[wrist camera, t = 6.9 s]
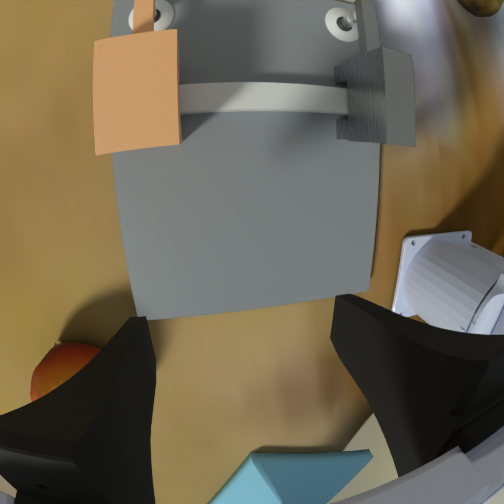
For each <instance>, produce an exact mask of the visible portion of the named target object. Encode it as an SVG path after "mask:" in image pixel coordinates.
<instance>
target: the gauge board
mask: <svg viewBox="0 0 504 504" xmlns="http://www.w3.org/2000/svg"><path fill="white" fill-rule="evenodd" d="M134 1H135V0H114V3H113V14H112V26H111V38H113V37H118V36H124V35H130V34H132V31H133V14H134ZM155 8H156V12H157V15H156V17H155V18H154V31H160V30H170V29H177V34H178V47H179V60H180V81H179V88H180V120H181V130H182V144H179V145H169V146H159V147H151V148H142V149H135V150H127V151H120V152H113V153H112V158H113V170H114V180H115V190H116V198H117V206H118V214H119V221H120V228H121V235H122V241H123V247H124V253H125V258H126V264H127V269H128V274H129V279H130V284H131V289H132V294H133V298H134V303H135V307H136V312H137V316H138V317H142V316H146V318H147V320H157V319H169V318H179V317H189V316H199V315H208V314H217V313H225V312H234V311H242V310H250V309H257V308H265V307H272V306H279V305H286V304H293V303H299V302H306V301H312V300H319V299H325V298H331V297H336V295H343V294H354V293H360V292H365V291H368V290H369V283H370V275H371V268H372V259H373V250H374V241H375V230H376V218H377V204H378V186H379V157H380V143H369V142H353V141H348V140H343V139H337V130H336V121H347V120H348V98H347V85H342V84H335V71H334V67H335V66H338V65H340V64H342V63H345V62H346V60H348V59H351V58H353V57H356V56H358V55H360V48H359V38H358V28H357V24H355V25H353V26H351V27H350V28H346V27H344V26H343V25H342V24H341V19H342V18H344V17H346V16H347V15H349V14H350V13H352V12H353V11H355V5H353V4H349V3H345V2H340V1H336V0H155Z"/></svg>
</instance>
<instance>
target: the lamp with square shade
mask: <svg viewBox="0 0 504 504" xmlns="http://www.w3.org/2000/svg"><path fill="white" fill-rule="evenodd" d="M372 458H373V456H372V454H371V452H370V450H369V449H367V450H357V451H345V452H329V453H256V452H250V454H249V455H248V456H247V457H246V459H245V460H244V461H243V462H242V464H241V465H240V466H239V467H238V469H237V470H236V471H235V472H234V473H233V475H232V476H231V477H230V478H229V479H228V481H227V482H226V483H225V484H224V485H223V486H222V488H221V489H220V490H219V491H218V492H217V493H216V495H215V496H214V497H213V498H212V499H211V500H210V501H209V502H208V503H207V504H326V503H327V502H329V501H330V500H331V499H332V498H333V497H334V496H335V495H336V494H337V493H338V492H339V491H341V490H342V489H343V488H344V487H345V485H347V484H348V483H349V482H350V481H351V480H352V479H353V478H354V477H355V476H356V475H357V474H358V473H359V472H360V471H361V469H363V468H364V466H365V465H366V464H367V463H368V462H369V461H370V460H371V459H372Z"/></svg>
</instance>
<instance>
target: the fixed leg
mask: <svg viewBox="0 0 504 504" xmlns="http://www.w3.org/2000/svg"><path fill="white" fill-rule="evenodd" d="M354 4H355V11H353V12H352V13H350V14H349V15H347V16H346V17H344V18H342V19H341V24H342V25H343V26H344V27H346V28H350V27H351V26H353V25H355V24H357V28H358V38H359V48H360V55H358V56H356V57H353V58H351V59H348V60H346V62H345V63H342V64H340V65H338V66H335V67H334V71H335V84H342V85H347V98H348V120H347V121H336V130H337V139H343V140H348V141H353V142H369V143H382V144H393V145H403V146H412V147H415V143H416V121H415V91H414V75H413V63H412V55H411V54H407V53H404V52H401V51H397V50H394V49H390V48H386V47H380V39H379V30H378V22H377V15H376V8H375V1H372V0H355V1H354Z"/></svg>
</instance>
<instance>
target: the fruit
mask: <svg viewBox="0 0 504 504" xmlns="http://www.w3.org/2000/svg"><path fill="white" fill-rule="evenodd" d="M100 350H101V349H100V348H98V347H96V346H94V345H89V344H84V343H81V342H76V341H71V342H65V343H61V344H56V343H55V345H54V346H53V348H52V349H50V351H49V352H48V353H47V354H46V356H45V357H44V358H43V359H42V361H41V362H40V363H39V365H38V366H37V367H36V368H35V370H34V372H33V375H32V380H31V392H30V395H31V400H32V402H33V401H35V400H37V399H39V398H40V397H42V396H44V395H46V394H47V393H49V392H51V391H52V390H54V389H55V388H56V387H58V386H59V385H61V384H62V383H64V382H65V381H67V380H68V379H69V378H71V377H72V376H73V375H75V374H76V373H77V372H78V371H79V370H81V369H82V368H83V367H84V366H85V365H86V364H87V363H88V362H90V360H91V359H92V358H93V357H94V356H95V355H96V354H97V353H98V352H99V351H100Z"/></svg>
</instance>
